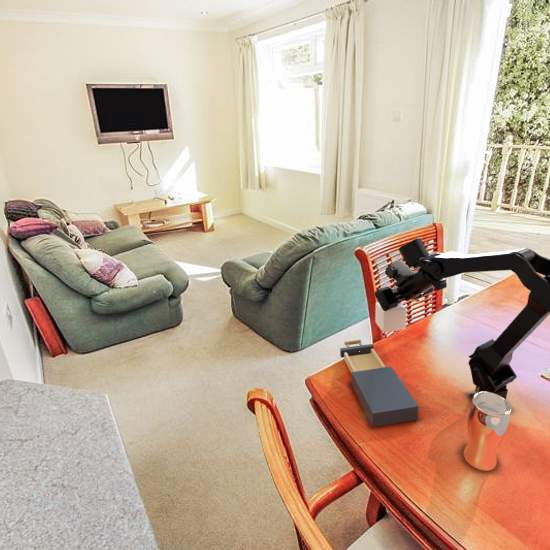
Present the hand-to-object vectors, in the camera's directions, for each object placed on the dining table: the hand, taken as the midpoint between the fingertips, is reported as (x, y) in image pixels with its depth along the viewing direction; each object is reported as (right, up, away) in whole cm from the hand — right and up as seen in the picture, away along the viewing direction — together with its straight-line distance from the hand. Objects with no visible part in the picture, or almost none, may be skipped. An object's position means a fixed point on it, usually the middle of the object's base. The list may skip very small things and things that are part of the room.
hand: (388, 302), depth 115 cm
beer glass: (+8, -30, -36) cm, 48 cm away
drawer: (-10, -17, -7) cm, 21 cm away
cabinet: (-8, -24, -20) cm, 32 cm away
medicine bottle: (+1, -8, +2) cm, 8 cm away
